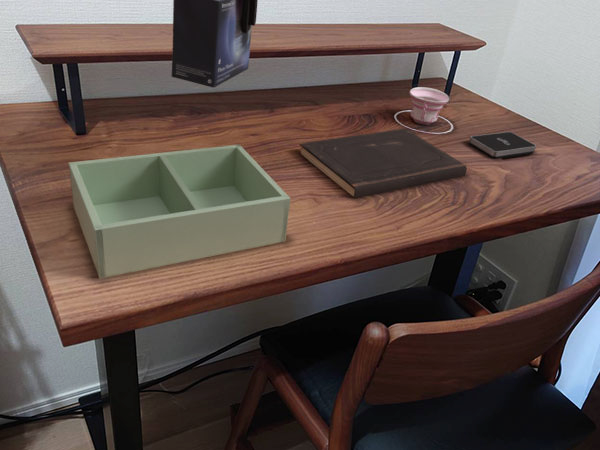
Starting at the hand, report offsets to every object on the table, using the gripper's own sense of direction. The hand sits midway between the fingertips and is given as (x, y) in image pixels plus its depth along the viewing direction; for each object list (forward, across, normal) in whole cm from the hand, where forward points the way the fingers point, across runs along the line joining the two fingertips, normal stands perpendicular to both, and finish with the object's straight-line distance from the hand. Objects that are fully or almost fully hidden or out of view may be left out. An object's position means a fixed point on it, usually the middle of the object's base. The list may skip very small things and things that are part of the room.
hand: (215, 24), depth 69 cm
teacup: (+22, -35, -37) cm, 56 cm away
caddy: (+22, +1, +13) cm, 26 cm away
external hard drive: (+22, -49, -29) cm, 61 cm away
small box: (+7, 0, 0) cm, 7 cm away
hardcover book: (+22, -26, -14) cm, 37 cm away
